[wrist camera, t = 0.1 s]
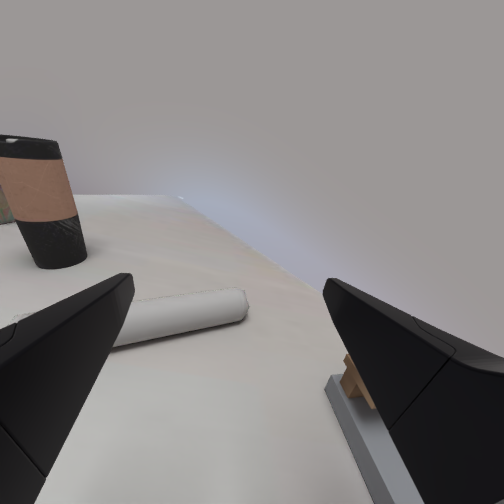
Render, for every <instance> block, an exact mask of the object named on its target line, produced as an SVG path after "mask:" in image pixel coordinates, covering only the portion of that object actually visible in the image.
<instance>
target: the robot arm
mask: <svg viewBox="0 0 504 504" xmlns="http://www.w3.org/2000/svg"><path fill="white" fill-rule="evenodd" d="M134 293H135V288H134V282H133V276H132V274H130V273H119V274H117V275H115V276H113V277H111V278H109V279H106V280H104V281H102V282H100V283H98V284H96V285H94V286H92V287H89V288H87V289H85V290H83V291H81V292H79V293H77V294H74V295H72V296H70V297H68V298H66V299H64V300H62V301H60V302H57V303H55V304H53V305H51V306H49V307H47V308H45V309H43V310H40V311H38V312H36V313H34V314H32V315H30V316H28V317H26V318H23V319H21V320H19V321H18V322H17V323H13V324H11V325H8V326H6V327H4V328H2V329H0V504H34V503H35V501H36V499H37V497H38V495H39V493H40V491H41V489H42V487H43V485H44V483H45V481H46V477H47V476H48V475H49V473H50V471H51V469H52V467H53V465H54V463H55V461H56V459H57V457H58V455H59V453H60V451H61V449H62V447H63V445H64V443H65V441H66V439H67V437H68V435H69V433H70V431H71V429H72V427H73V425H74V423H75V421H76V419H77V417H78V415H79V413H80V411H81V409H82V407H83V405H84V403H85V401H86V399H87V397H88V395H89V393H90V391H91V389H92V387H93V385H94V383H95V381H96V379H97V377H98V375H99V373H100V371H101V369H102V367H103V365H104V363H105V361H106V359H107V357H108V355H109V353H110V351H111V349H112V347H113V345H114V343H115V341H116V339H117V337H118V335H119V333H120V331H121V329H122V327H123V324H124V322H125V319H126V316H127V313H128V311H129V308H130V305H131V302H132V299H133V297H134ZM323 297H324V300H325V303H326V305H327V308H328V311H329V313H330V316H331V318H332V321H333V323H334V325H335V327H336V329H337V331H338V333H339V335H340V337H341V339H342V341H343V343H344V345H345V347H346V349H347V351H348V353H349V355H350V357H351V359H352V361H353V363H354V365H355V367H356V369H357V371H358V373H359V375H360V377H361V379H362V381H363V383H364V385H365V387H366V389H367V391H368V393H369V395H370V397H371V399H372V401H373V403H374V405H375V407H376V409H377V411H378V413H379V415H380V417H381V419H382V421H383V423H384V425H385V427H386V428H387V430H388V433H389V435H390V437H391V439H392V441H393V443H394V445H395V447H396V449H397V451H398V453H399V455H400V457H401V459H402V461H403V463H404V465H405V467H406V469H407V470H408V472H409V474H410V476H411V478H412V480H413V482H414V484H415V486H416V488H417V490H418V492H419V494H420V496H421V498H422V500H423V502H424V504H504V358H503V357H500V356H498V355H495V354H493V353H491V352H489V351H486V350H484V349H482V348H480V347H477V346H475V345H473V344H471V343H468V342H466V341H464V340H462V339H460V338H457V337H455V336H453V335H451V334H449V333H447V332H445V331H442V330H440V329H438V328H436V327H434V326H432V325H430V324H428V323H426V322H424V321H422V320H419V319H418V318H416V317H413V316H411V315H409V314H407V313H405V312H403V311H401V310H399V309H397V308H395V307H393V306H391V305H389V304H387V303H385V302H383V301H381V300H379V299H377V298H375V297H373V296H371V295H369V294H367V293H365V292H363V291H361V290H359V289H357V288H355V287H353V286H351V285H349V284H347V283H345V282H343V281H341V280H339V279H337V278H328V279H327V281H326V283H325V286H324V289H323Z"/></svg>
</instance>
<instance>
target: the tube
mask: <svg viewBox="0 0 504 504" xmlns="http://www.w3.org/2000/svg"><path fill="white" fill-rule="evenodd" d="M248 309H249V304H248V301H247V298H246V293H245V290H242V289H239V288H227V289H220V290H213V291H205V292H198V293H191V294H183V295H176V296H168V297H161V298H154V299H146V300H139V301H132V302H131V305H130V308H129V311H128V313H127V316H126V319H125V322H124V324H123V327H122V329H121V331H120V333H119V335H118V337H117V339H116V341H115V343H114V345H113V347H116V346H120V345H125V344H130V343H135V342H140V341H144V340H149V339H154V338H159V337H164V336H168V335H173V334H178V333H183V332H188V331H192V330H197V329H202V328H207V327H212V326H216V325H221V324H226V323H231V322H236V321H240V320H242V319H243V317H244V316H245V315H246V313H247V311H248ZM32 314H34V313H28V314H22V315H16V316H15V317H14V318H13V319H12V321H11V322H10V323H9V324H8V325H11V324H13V323H17V322H18V321H19V320H21V319H23V318H26V317H28V316H30V315H32ZM8 325H7V326H8Z"/></svg>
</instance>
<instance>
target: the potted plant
mask: <svg viewBox="0 0 504 504" xmlns="http://www.w3.org/2000/svg"><path fill="white" fill-rule="evenodd" d="M11 222H16V221H15V218H14V217H13V214H12V212H11V209H10V207H9V204H8V202H7V199H6V197H5V194H4V192H3V189H2V187H1V184H0V224H6V223H11Z"/></svg>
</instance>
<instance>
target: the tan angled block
mask: <svg viewBox="0 0 504 504" xmlns="http://www.w3.org/2000/svg"><path fill="white" fill-rule="evenodd" d="M343 361H344V363H345V365H346V366H347V369H346V371H345V372H344V374H343V376H342V378H341V380H340V384H341V386H342V388H343V390H344V392H345V394H346V396H347V398H356V397H365V399H366V401H367V402H368V404H369V406H370V407H371V409H376V407H375V405H374V403H373V401H372V399H371V397H370V395H369V393H368V391H367V389H366V387H365V385H364V383H363V381H362V379H361V377H360V375H359V373H358V371H357V369H356V367H355V365H354V363H353V361H352V359H351V357H350V355H349V354H347V355H346V357H345V359H344V360H343Z"/></svg>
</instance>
